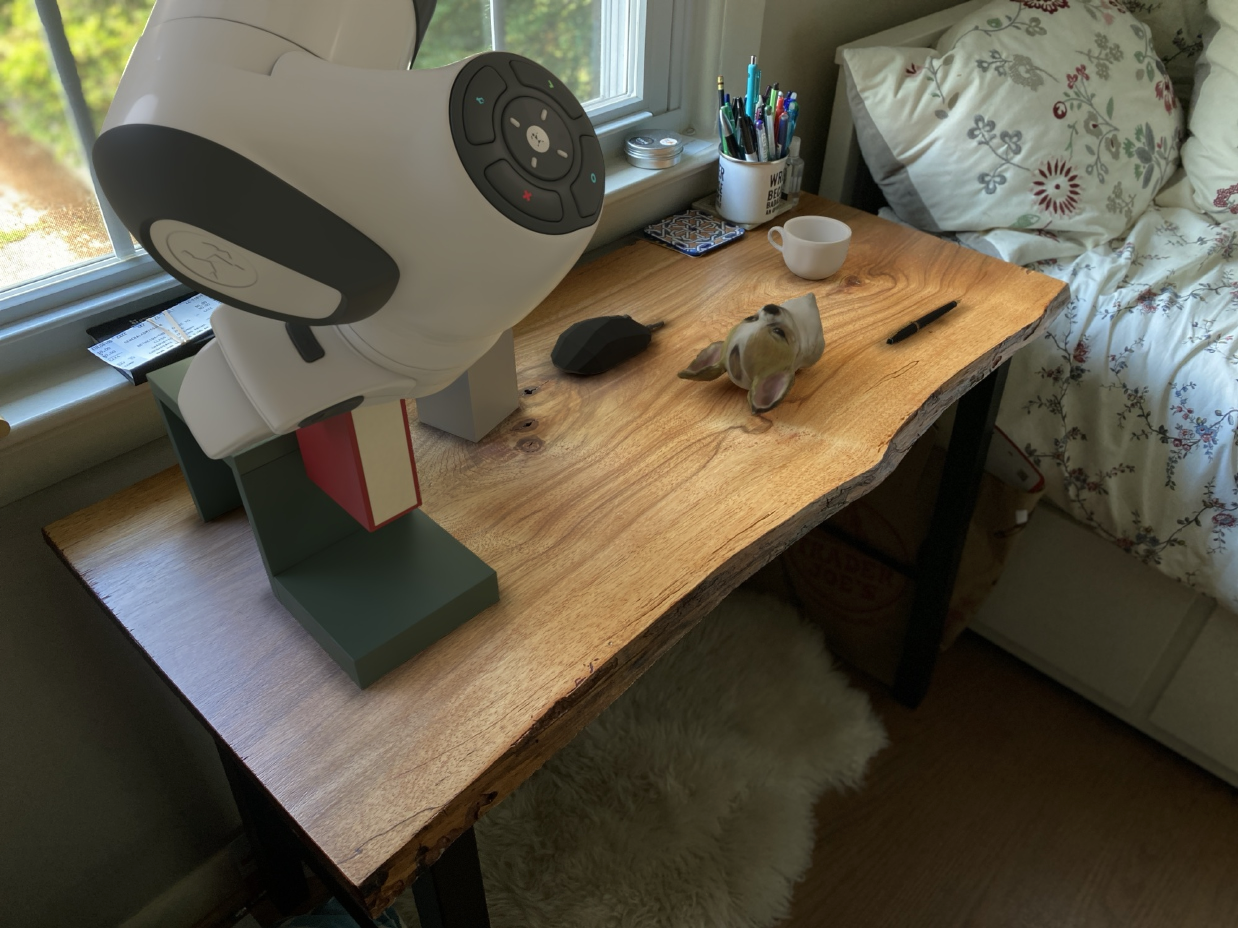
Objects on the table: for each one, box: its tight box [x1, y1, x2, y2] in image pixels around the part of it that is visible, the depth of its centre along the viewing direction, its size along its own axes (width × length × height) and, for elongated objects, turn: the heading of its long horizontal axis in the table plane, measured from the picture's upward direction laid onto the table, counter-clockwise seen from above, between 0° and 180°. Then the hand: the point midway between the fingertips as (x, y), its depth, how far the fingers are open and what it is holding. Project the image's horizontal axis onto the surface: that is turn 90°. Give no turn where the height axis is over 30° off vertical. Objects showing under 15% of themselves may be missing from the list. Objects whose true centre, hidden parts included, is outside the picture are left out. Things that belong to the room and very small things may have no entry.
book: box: [295, 399, 423, 532], centre depth 58 cm, size 4×8×14 cm, turn 44°
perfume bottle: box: [414, 326, 520, 444], centre depth 83 cm, size 7×7×18 cm
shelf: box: [145, 354, 501, 691], centre depth 69 cm, size 12×25×14 cm, turn 44°
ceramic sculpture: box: [676, 292, 826, 416], centre depth 90 cm, size 11×9×15 cm
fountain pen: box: [885, 298, 963, 346], centre depth 101 cm, size 14×1×2 cm, turn 132°
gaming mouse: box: [550, 313, 665, 376], centre depth 97 cm, size 6×15×4 cm, turn 132°
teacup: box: [767, 215, 853, 281], centre depth 111 cm, size 10×8×5 cm
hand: (337, 390), depth 58 cm, fingers closed on book, 4 cm apart
